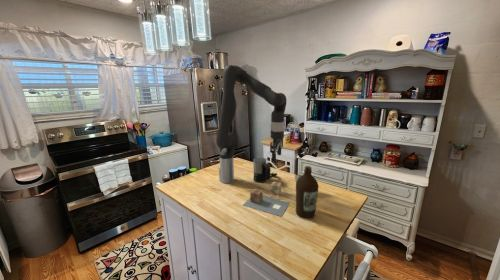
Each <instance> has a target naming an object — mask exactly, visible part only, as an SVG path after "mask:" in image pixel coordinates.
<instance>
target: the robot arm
mask: <svg viewBox="0 0 500 280" xmlns="http://www.w3.org/2000/svg"><path fill="white" fill-rule="evenodd" d="M222 77H223V78H222V80H223V83H222V84H223V85H222V100H221V105H220V106H221V108H220V114H219V115H220V117H219V124H218V130H217V133H216V140H215V142H216V145H217V148H219V149H221V151H220V152H219V167H218V175H219V176H218V177H219V181H220V182H221V183H222V184H230V183H233V182H234V181H235V166H234V165H235V164H234V163H235V162H234V154H235V145H236V144H235V137H234V135H233V134H232V133H231V132H230V131H229V130H230V127H231V125H232V124H233V121H234V120H235V119H234V118H236V117H235V116H236V113H237V99H236V97H235V86H236V85H235V84H236V83H239V84H243V85H245V86H246V87H248V88H249V89H250V91H251V92H253V93H254V94H255V95H257V96H258V97H261V98H262V99H263V100H265V102H267V103H268V104H269V105H270V106H273V110H272V111H271V115H270V117H271V120H270V138H271V140H272V141H271V142H269V143H270V145H269V154H270V153H271V160H276V159H277V156H281V155H282V149H283V147H284V138H285V111H286V106H287V97H286V95H285V93H282V92H276V91H274V90H272V88H271V87H270V86H268V85H267V84H265V83H263V82H262V81H260V80H258V79H257V78H255V77H253V76H252V75H250V74H249V73H248V72H247V71H245V70H244V69H243V68H242V67H240V66H238V65H232V64H228V65H226V67H225V68H224V70H223V76H222Z"/></svg>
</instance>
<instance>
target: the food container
mask: <svg viewBox="0 0 500 280" xmlns="http://www.w3.org/2000/svg"><path fill="white" fill-rule="evenodd" d="M302 175H303V174H301V175H300V174H297V173H295V174H294V179H295V183H296V182H297V180H298V179H299V178H300V177H301V176H302ZM313 177H314V178H315V176H313ZM315 179H316V178H315Z"/></svg>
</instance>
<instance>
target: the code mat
mask: <svg viewBox="0 0 500 280" xmlns="http://www.w3.org/2000/svg"><path fill="white" fill-rule="evenodd" d="M289 205H290V202H289V201H285V200H281V199H276V198H272V197H269V196H265V195H263V200H262V201H261V202H260V203H259V204H255V203H252V202H250V197H249V198H248V199H247V200H246V201H245V202H244V203H243V204H242V206H243V207H247V208H250V209H253V210H257V211H261V212H264V213H268V214H271V215H273V216H278V217H282V216H283V214H284V213H285V211H286V210H287V209H288V206H289Z"/></svg>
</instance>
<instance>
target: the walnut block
mask: <svg viewBox="0 0 500 280" xmlns="http://www.w3.org/2000/svg"><path fill="white" fill-rule="evenodd" d="M263 193H264V191H263V190H262V189H259V188H253V189H252V190H251V191H250V192H249V195H250V197H249V198H250V202H252V203H255V204H259V203H260V202H261V201H262V200H263V196H264V194H263Z"/></svg>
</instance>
